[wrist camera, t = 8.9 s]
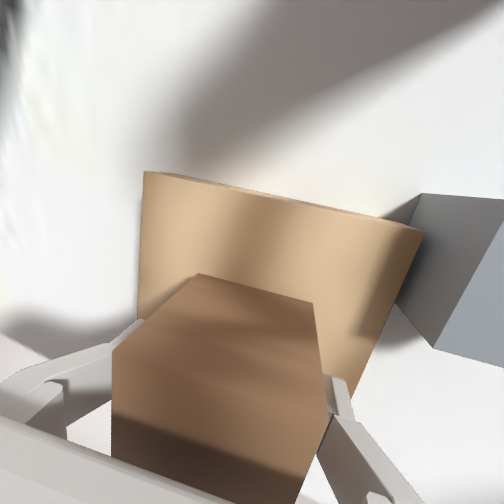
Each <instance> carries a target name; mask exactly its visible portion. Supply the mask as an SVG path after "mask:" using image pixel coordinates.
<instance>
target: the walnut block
mask: <svg viewBox="0 0 504 504" xmlns="http://www.w3.org/2000/svg"><path fill="white" fill-rule="evenodd" d="M111 405H112V406H111V407H112V409H111V413H112V414H111V417H112V418H111V457H113V458H116V459H118V460H121V461H124V462H126V463H129V464H132V465H134V466H137V467H140V468H142V469H145V470H148V471H150V472H153V473H156V474H158V475H161V476H164V477H166V478H169V479H172V480H174V481H177V482H180V483H182V484H185V485H188V486H190V487H193V488H196V489H199V490H201V491H204V492H207V493H209V494H212V495H215V496H217V497H220V498H223V499H225V500H228V501H231V502H233V503H236V504H295V501H296V499H297V496H298V494H299V492H300V489H301V487H302V484H303V482H304V480H305V477H306V475H307V472H308V470H309V468H310V465H311V463H312V460H313V458H314V456H315V453H316V451H317V448H318V446H319V444H320V441H321V439H322V437H323V434H324V432H325V429H326V427H327V425H328V422H329V415H328V408H327V401H326V394H325V387H324V380H323V372H322V365H321V358H320V351H319V344H318V337H317V330H316V322H315V315H314V308H313V303H311V302H307V301H303V300H299V299H296V298H292V297H288V296H284V295H280V294H277V293H273V292H269V291H265V290H261V289H258V288H254V287H250V286H246V285H243V284H239V283H235V282H231V281H227V280H224V279H220V278H216V277H212V276H208V275H205V274H201V273H197V274H196V275H195V276H194V277H193V278H192V279H191V280H190V281H189V282H188V283H186V284H185V285H184V286H183V287H182V288H181V289H180V290H179V291H178V292H177V293H175V294H174V295H173V296H172V297H171V298H170V299H169V300H168V301H167V302H165V303H164V304H163V305H162V306H161V307H160V308H159V309H158V310H157V311H156V312H154V313H153V314H152V315H151V316H150V317H149V318H148V319H147V320H146V321H145V322H143V323H142V324H141V325H140V326H139V327H138V328H137V329H136V330H135V331H133V332H132V333H131V334H130V335H129V336H128V337H127V338H126V339H125V340H124V341H122V342H121V343H120V344H119V345H118V346H117V347H116V348H115V349H114V350H113V351H112V404H111Z"/></svg>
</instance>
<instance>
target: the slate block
mask: <svg viewBox="0 0 504 504" xmlns="http://www.w3.org/2000/svg"><path fill="white" fill-rule="evenodd" d="M408 226H410V227H413V228H416V229H418V230H421V231H423V232H425V234H424V236H423V238H422V241H421V243H420V245H419V247H418V250H417V252H416V254H415V256H414V259H413V261H412V263H411V265H410V268H409V270H408V272H407V274H406V277H405V279H404V281H403V283H402V286H401V288H400V290H399V292H398V295H397V297H396V299H395V301H394V302H395V303H396V304H397V306H398V307H399V308H400V309H401V310H402V312H403V313H404V314H405V315H406V316H407V318H408V319H409V320H410V321H411V323H412V324H413V325H414V326H415V327H416V329H417V330H418V331H419V332H420V333H421V335H422V336H423V337H424V338H425V340H426V341H427V342H428V343H429V344H430V346H431V347H432V348H433V349H437V350H440V351H444V352H448V353H451V354H455V355H459V356H462V357H466V358H470V359H473V360H477V361H480V362H484V363H488V364H491V365H495V366H499V367H502V368H504V200H502V199H490V198H477V197H465V196H452V195H440V194H428V193H422V194H421V196H420V199H419V201H418V203H417V206H416V208H415V210H414V213H413V215H412V218H411V220H410V222H409V225H408Z"/></svg>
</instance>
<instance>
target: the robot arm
mask: <svg viewBox="0 0 504 504" xmlns="http://www.w3.org/2000/svg"><path fill="white" fill-rule="evenodd" d="M145 321H146V320H143V319H138V320H136V321H135V322H134V323H133V324H131V325H130V326H129V327H128V328H127V329H126V330H124V331H123V332H122V333H121V334H120V335H118V336H117V337H116V338H115V339H114V340H113V341H111V342H110V343H109V344H108V343H103V344H99V345H96V346H93V347H90V348H87V349H84V350H81V351H78V352H74V353H71V354H68V355H65V356H62V357H59V358H56V359H53V360H49V361H46V362H43V363H40V364H37V365H34V366H31V367H27V368H24V369H21V370H20V371H18V372H17V373H15V374H14V375H13V376H11V377H10V378H8V379H7V380H5V381H4V382H2V383H1V384H0V504H236V503H233V502H231V501H228V500H225V499H223V498H220V497H217V496H215V495H212V494H209V493H207V492H204V491H201V490H199V489H196V488H193V487H190V486H188V485H185V484H182V483H180V482H177V481H174V480H172V479H169V478H166V477H164V476H161V475H158V474H156V473H153V472H150V471H148V470H145V469H142V468H140V467H137V466H134V465H132V464H129V463H126V462H124V461H121V460H118V459H116V458H113V457H110V456H108V455H105V454H102V453H100V452H97V451H94V450H92V449H89V448H86V447H83V446H81V445H78V444H76V443H73V442H70V441H68V440H67V431H66V426H68V425H70V424H71V423H73V422H74V421H76V420H78V419H79V418H81V417H83V416H85V415H86V414H88V413H90V412H91V411H93V410H95V409H96V408H98V407H100V406H101V405H103V404H105V403H106V402H108V401H110V400H111V399H112V351H113V350H114V349H115V348H116V347H117V346H118V345H119V344H120V343H121V342H122V341H124V340H125V339H126V338H127V337H128V336H129V335H130V334H131V333H132V332H133V331H135V330H136V329H137V328H138V327H139V326H140V325H141V324H142V323H143V322H145ZM323 380H324V387H325V394H326V401H327V408H328V415H329V422H328V425H327V427H326V429H325V432H324V434H323V437H322V439H321V441H320V444H319V446H318V448H317V451H316V453H315V454H317V458H318V460H319V462H320V465H321V467H322V469H323V471H324V473H325V475H326V477H327V480H328V482H329V484H330V486H331V488H332V490H333V492H334V495H335V497H336V499H337V501H338V503H339V504H425V503H424V502H423V500H422V499H421V498H420V497H419V495H418V494H417V493H416V492H415V490H414V489H413V488H412V487H411V485H410V484H409V483H408V482H407V480H406V479H405V478H404V477H403V475H402V474H401V473H400V472H399V470H398V469H397V468H396V467H395V465H394V464H393V463H392V462H391V460H390V459H389V458H388V457H387V455H386V454H385V453H384V452H383V450H382V449H381V448H380V447H379V445H378V444H377V443H376V442H375V440H374V439H373V438H372V437H371V435H370V434H369V433H368V432H367V430H366V429H365V428H364V427H363V425H362V424H361V423H359V422H356V420H355V416H354V412H353V408H352V404H351V400H350V396H349V393H348V389H347V385H346V381H345V380H344V378H340V377H336V376H333V375H328V374H325V373H323Z"/></svg>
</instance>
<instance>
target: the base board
mask: <svg viewBox="0 0 504 504" xmlns="http://www.w3.org/2000/svg"><path fill="white" fill-rule="evenodd" d="M424 234H425V232H423V231H421V230H418V229H416V228H413V227H410V226H408V225H405V224H402V223H400V222H396V221H391V220H387V219H382V218H377V217H373V216H368V215H363V214H359V213H354V212H349V211H345V210H340V209H336V208H331V207H326V206H322V205H317V204H312V203H308V202H303V201H298V200H294V199H289V198H284V197H280V196H275V195H270V194H266V193H261V192H257V191H252V190H247V189H243V188H238V187H233V186H229V185H224V184H219V183H215V182H210V181H205V180H201V179H196V178H191V177H187V176H182V175H178V174H173V173H162V172H150V171H144V176H143V198H142V220H141V242H140V264H139V286H138V308H137V320H138V319H143V320H147V319H148V318H149V317H150V316H151V315H152V314H153V313H154V312H156V311H157V310H158V309H159V308H160V307H161V306H162V305H163V304H164V303H165V302H167V301H168V300H169V299H170V298H171V297H172V296H173V295H174V294H175V293H177V292H178V291H179V290H180V289H181V288H182V287H183V286H184V285H185V284H186V283H188V282H189V281H190V280H191V279H192V278H193V277H194V276H195V275H196V274H197V273H201V274H205V275H208V276H212V277H216V278H220V279H224V280H227V281H231V282H235V283H239V284H243V285H246V286H250V287H254V288H258V289H261V290H265V291H269V292H273V293H277V294H280V295H284V296H288V297H292V298H296V299H299V300H303V301H307V302H311V303H313V308H314V315H315V322H316V330H317V337H318V344H319V351H320V358H321V365H322V372H323V373H325V374H328V375H333V376H336V377H340V378H344V380H345V381H346V385H347V389H348V393H349V396H350V400H351V398H352V396H353V394H354V391H355V389H356V387H357V385H358V382H359V380H360V378H361V376H362V373H363V371H364V369H365V367H366V364H367V362H368V360H369V358H370V355H371V353H372V351H373V349H374V346H375V344H376V342H377V340H378V337H379V335H380V333H381V331H382V328H383V326H384V324H385V322H386V319H387V317H388V315H389V313H390V310H391V308H392V306H393V304H394V301H395V299H396V297H397V295H398V292H399V290H400V288H401V286H402V283H403V281H404V279H405V277H406V274H407V272H408V270H409V268H410V265H411V263H412V261H413V259H414V256H415V254H416V252H417V250H418V247H419V245H420V243H421V241H422V238H423V236H424Z"/></svg>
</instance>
